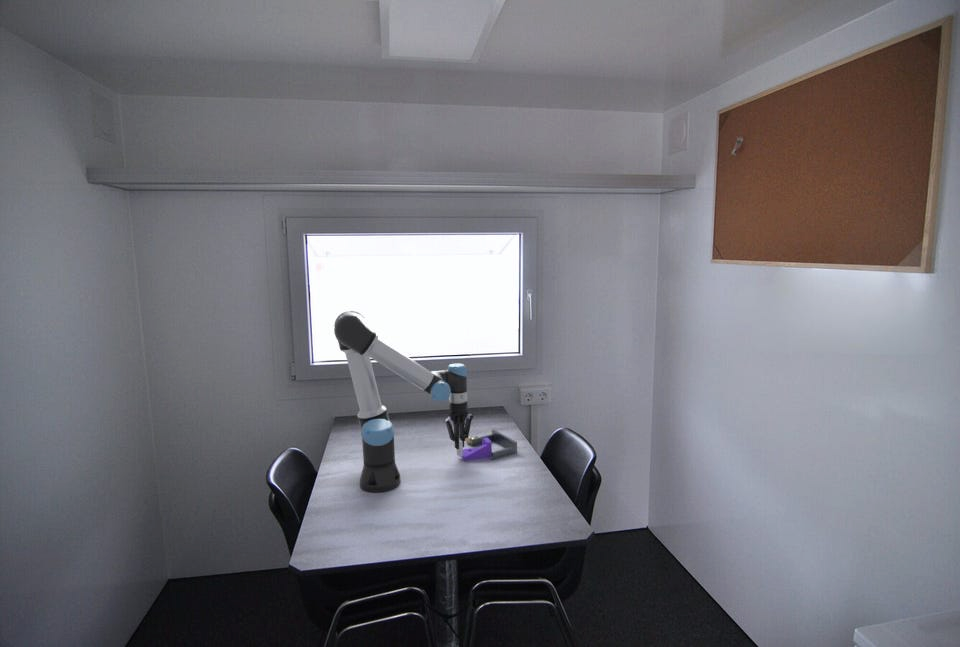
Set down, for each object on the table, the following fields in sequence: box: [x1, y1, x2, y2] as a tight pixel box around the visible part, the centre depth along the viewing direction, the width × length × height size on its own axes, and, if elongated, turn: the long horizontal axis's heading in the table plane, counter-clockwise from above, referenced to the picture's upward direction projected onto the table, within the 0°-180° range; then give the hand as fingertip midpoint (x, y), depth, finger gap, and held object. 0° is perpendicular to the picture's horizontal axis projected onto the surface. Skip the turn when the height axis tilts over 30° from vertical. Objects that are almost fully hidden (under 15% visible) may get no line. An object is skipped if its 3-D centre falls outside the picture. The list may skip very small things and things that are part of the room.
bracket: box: [460, 437, 493, 462], centre depth 217 cm, size 12×7×7 cm, turn 106°
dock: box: [470, 429, 518, 461], centre depth 223 cm, size 12×18×5 cm
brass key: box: [465, 435, 479, 445], centre depth 232 cm, size 6×3×3 cm, turn 142°
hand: (459, 455), depth 215 cm, fingers closed
